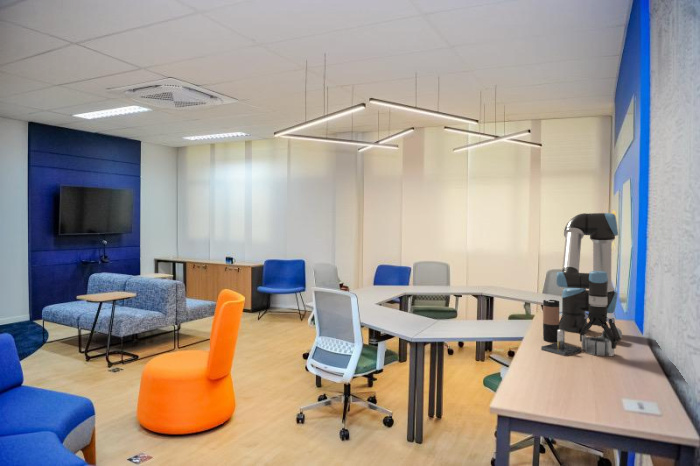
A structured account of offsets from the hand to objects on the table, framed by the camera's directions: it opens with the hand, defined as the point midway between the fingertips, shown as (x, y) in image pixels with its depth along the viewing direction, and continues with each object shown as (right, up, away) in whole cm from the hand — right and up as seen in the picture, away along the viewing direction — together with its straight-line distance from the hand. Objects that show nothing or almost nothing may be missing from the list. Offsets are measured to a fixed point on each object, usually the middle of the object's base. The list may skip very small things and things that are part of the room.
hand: (597, 352), depth 213 cm
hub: (0, 0, 0) cm, 0 cm away
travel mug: (-12, 0, +22) cm, 25 cm away
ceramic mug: (+17, 0, +20) cm, 26 cm away
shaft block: (-15, 0, +4) cm, 15 cm away
